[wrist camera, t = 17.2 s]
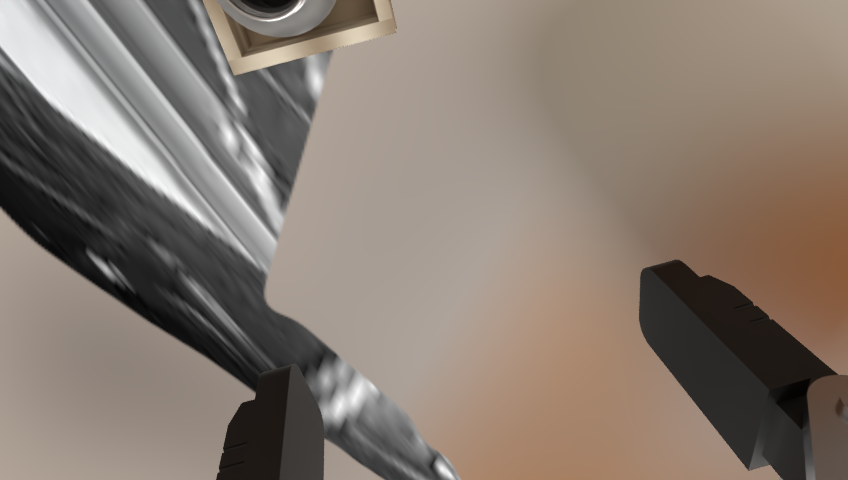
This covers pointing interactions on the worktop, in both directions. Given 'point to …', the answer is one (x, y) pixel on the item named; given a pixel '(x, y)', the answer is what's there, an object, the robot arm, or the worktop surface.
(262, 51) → the wooden tray
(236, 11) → the silver bottle
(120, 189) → the worktop surface
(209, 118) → the worktop surface
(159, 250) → the worktop surface
